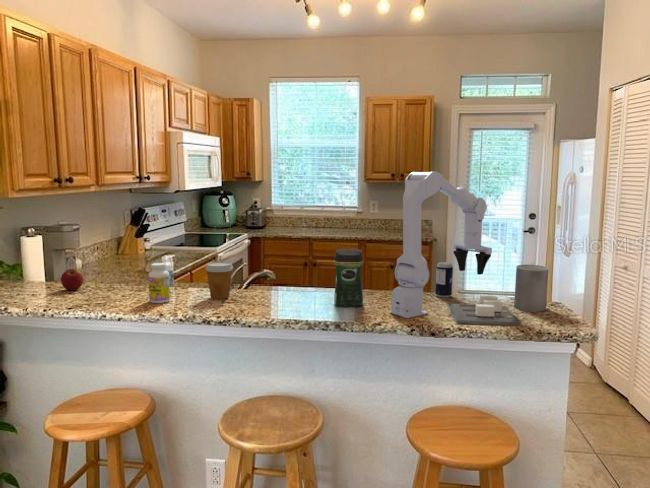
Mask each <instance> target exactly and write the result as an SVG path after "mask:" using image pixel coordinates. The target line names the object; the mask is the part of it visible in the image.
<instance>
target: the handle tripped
mask: <svg viewBox="0 0 650 488" xmlns="http://www.w3.org/2000/svg"><path fill="white" fill-rule="evenodd" d="M475 305H476V311H475V314H476V316H488V317H494V311H495V307H494V306H493V305H483V304H480V303H479V304H478V303H477V304H476V303H475Z"/></svg>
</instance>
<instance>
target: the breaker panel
mask: <svg viewBox="0 0 650 488" xmlns="http://www.w3.org/2000/svg"><path fill="white" fill-rule="evenodd" d="M448 307H449V308H448ZM447 308H448V310H449V309H450V310H449V311H451V312H450V313H452V314H451V315H453V316H452V317H453V320H454V321H455V324H469V325H487V326H488V325H492V326H514V327H515V326H517V327H521V325H522V322H521V321H520V320H519V318H518V317H517V316H516V315H514V314H513V313H512V312H511V311H510V310H509V309H508V307H507V306H505V305H502V312H494V317H488V316H476V314H475V311H476V304H468V303H447Z"/></svg>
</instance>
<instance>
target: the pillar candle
mask: <svg viewBox="0 0 650 488" xmlns="http://www.w3.org/2000/svg"><path fill="white" fill-rule="evenodd" d="M548 279H549V267H547V266H543V265H539V264H534V263H533V262H532V263H531V264H519V265H516V269H515V286H514V304H513V305H514V306H513V307H514V309H516V310H518V309H519V311H522V310H523V312H528V311H529V313H538V312H540V313H541V312H545V311H546V310H547V309H546V308H547V300H548V298H547V297H548V282H549V280H548Z"/></svg>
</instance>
